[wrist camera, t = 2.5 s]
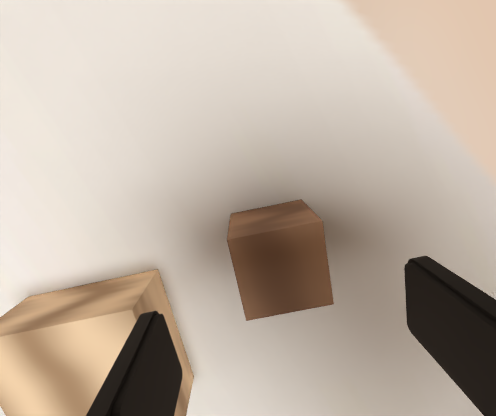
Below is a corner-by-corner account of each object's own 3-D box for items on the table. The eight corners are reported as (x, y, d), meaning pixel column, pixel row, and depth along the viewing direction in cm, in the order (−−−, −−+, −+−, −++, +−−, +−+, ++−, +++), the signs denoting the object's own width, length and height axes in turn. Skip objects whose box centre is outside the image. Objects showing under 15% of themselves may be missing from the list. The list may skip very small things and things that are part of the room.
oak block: (159, 267, 20) (132, 309, 15) (194, 373, 22) (181, 439, 17) (31, 294, 20) (-36, 344, 15) (80, 396, 23) (36, 466, 18)
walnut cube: (301, 199, 18) (322, 220, 14) (311, 263, 20) (333, 304, 15) (230, 213, 19) (226, 239, 14) (245, 276, 20) (246, 320, 15)
